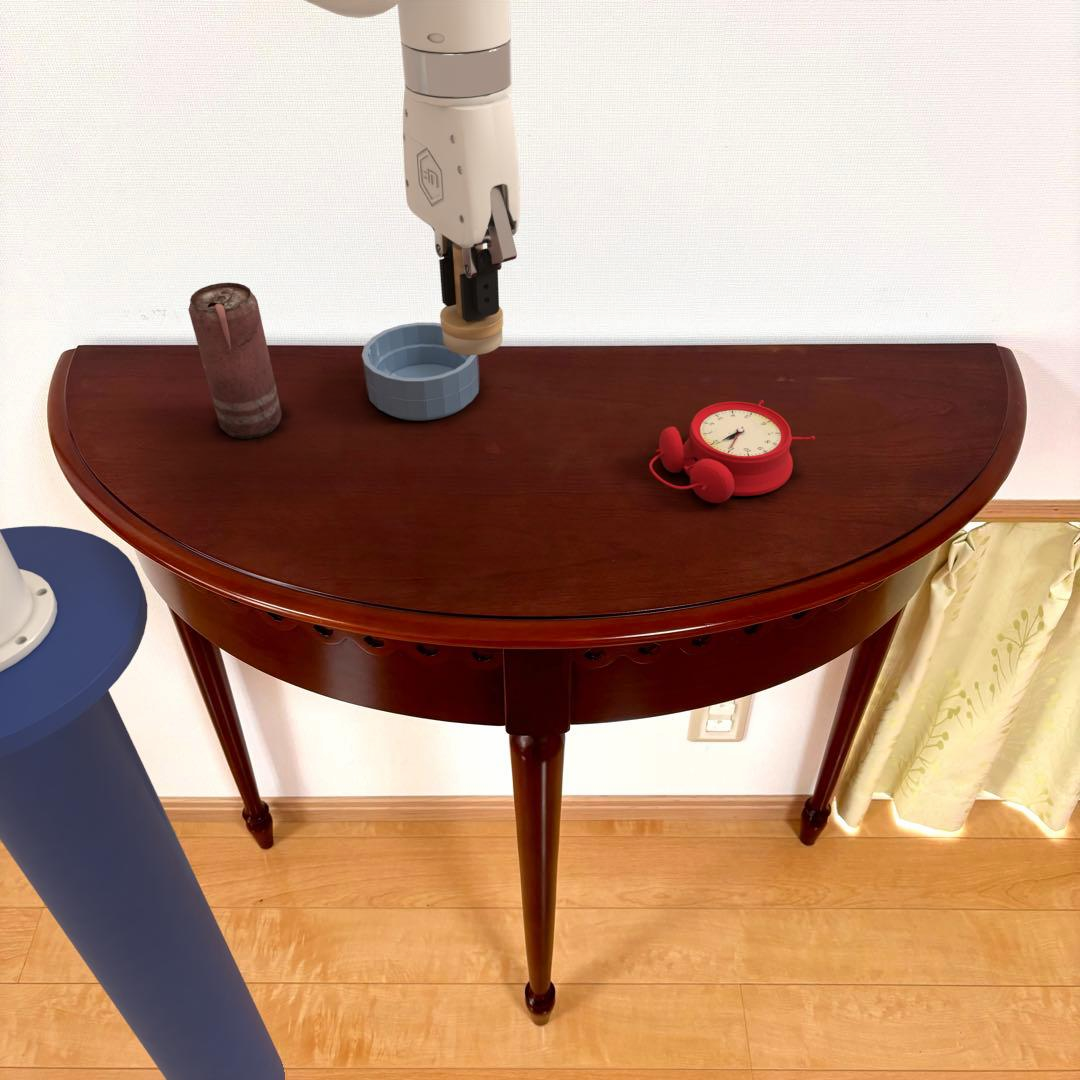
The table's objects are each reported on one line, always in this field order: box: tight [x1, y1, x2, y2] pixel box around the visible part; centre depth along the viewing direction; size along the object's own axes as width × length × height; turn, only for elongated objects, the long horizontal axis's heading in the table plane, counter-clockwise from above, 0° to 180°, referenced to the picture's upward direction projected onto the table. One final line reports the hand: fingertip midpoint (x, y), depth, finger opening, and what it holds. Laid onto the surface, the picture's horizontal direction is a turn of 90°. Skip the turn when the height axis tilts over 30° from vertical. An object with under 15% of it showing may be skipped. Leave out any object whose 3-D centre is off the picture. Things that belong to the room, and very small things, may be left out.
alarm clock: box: [648, 399, 816, 504], centre depth 89 cm, size 10×6×15 cm
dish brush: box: [439, 243, 504, 356], centre depth 78 cm, size 5×5×8 cm
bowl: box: [361, 321, 481, 422], centre depth 99 cm, size 12×12×5 cm
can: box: [187, 282, 283, 440], centre depth 92 cm, size 6×6×14 cm
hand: (470, 307), depth 79 cm, fingers closed on dish brush, 2 cm apart
